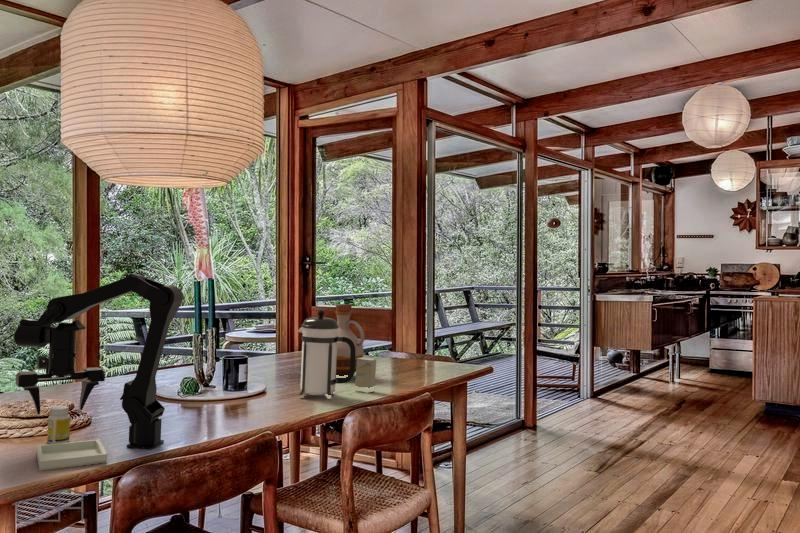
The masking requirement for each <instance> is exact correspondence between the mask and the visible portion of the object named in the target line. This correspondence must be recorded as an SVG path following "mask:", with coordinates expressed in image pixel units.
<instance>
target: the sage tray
mask: <svg viewBox="0 0 800 533" xmlns="http://www.w3.org/2000/svg"><path fill="white" fill-rule="evenodd" d="M35 456H36V460H37V466H38V471H39V472H43V471H51V470H58V469H68V467H69V468H76V466H77V467H83V465H86V466H92V465H91V464H94V465H99V464H98V463H103V464H108V463H107V462H108V457H107V456H108V453H107V452H106V450H105V447H104V445H103V443H102V442H101V439H99V438H98V439H88V440H79V441H68V442H66V443H57V444H49V443H47V444H38V445H36V451H35ZM66 467H67V468H66Z"/></svg>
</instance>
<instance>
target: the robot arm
mask: <svg viewBox="0 0 800 533" xmlns="http://www.w3.org/2000/svg"><path fill="white" fill-rule="evenodd" d="M132 293H135V294H137V296H140V297H141V298H142V299H144V300H146V301H149V316H150V322H149V326H148V330H147V334H146V337H145V340H144V341H145V342H144V345H143V349H142V353H141V357H140V358H139V359H140V360H139V364H138V367H137V371H136V375H135V377H134V379H132V380H128V381H127V382H125V383H124V385H123V391H122V394H121V397H120V398H119V400H120V401H121V408H122V409H123V411H124V412H125V413H126V414H127V417H128V418H127V419H128V421H129V424H130V425H129V426H128V427H129V428H128V444H126V447H127V448H135V449H145V450H146V449H147V450H148V449H149V450H152V449H154V448H156V447H157V446H160V445H161V444H163V443H164V442H165V439H161V438H162V422H163V421H162V418H160V417H163V414H164V412H165V406H164V405H162V404H161V402H160V401H158V399H157V383H156V377H157V372H158V368H159V365H160V361H161V358H162V354H163V351H164V347H165V343H166V340H167V334H168V332H169V327H170V325H171V322H172V320H173V319H174V317H175V316H176V314H177V313H178V311H179V309H180V307H181V305H182V303H183V300H184V294H183V291H182V290H181V288H179V287H178V286H176V285H171V284H169V285H166V284H164V283H162V282H161V283H160V282H158V281H156V280H153V279H150V278H147V277H145V276H144V275H142V274H130V275H127V276H126V277H124V278H121V279H118V280H115V281H113V282H110V283H108V284H107V283H106V284H103V285H102V286H99V287H96V288H93V289H90V290H88V291H86V292H82V293H75V294H68V295H64V296H63V295H62V296H57V297H54V298H51V299H50V300H49V301H48V304H47V305H46V310H44V312H42V314H41V315H40V317H39V318H38V319H31V318H21V319H20V320H19V323H20V324H18V326H17V327H16V330H15V333H14V334H13V340H14V343H15V345H16V346H17V347H20V348H21V347H22V348H24V347H25V348H44V347H46V346H47V345H48V344H49V346H48V347H49V348H48V356H47V355H38V356H37V361H36V368H37V370H39V371H41V370H42V371H43V370H45V373H40V374H39V373H37V372H36V370H29V371H18V372H17V373H16V374H15V385H16V386H17V387H18V388H22V390H24V391H28V392H29V394H30V396H31V399H32V401H33V404H34V409H35V411H36V413H37V415H40V414H41V399H40V398H41V397H40V387H39V386H38V383H43V382H44V383H45V382H57V381H58V382H59V381H71V380H81V390H80V396H79V404H78V406H79V408H78V409H79V411H83V409H84V406H85V404H86V402H87V400H88V398H89V396H90V394H91V393H92V391H93V389H94V388H95V386H99V385H100V383H99V382H105V381H106V377H105V376H106V373H105V371H104V369H102V368H101V367H98V366H96V367H95V366H94V367H83V371H75V370H76V368H75V367H76V346H77V345H76V344H77V340H76V339H77V331H82V330H85V329H86V326H85V325H84V324H83V323H81V321H80V320H79V319H76V318H77V317H80V316H81V315H83V314H85V313H86V312H88V311H89V310H90V309H91V308H93V307H95V306H98V305H100V304H103V303H107V302H109V301H112V300H114V299H118V298H120V297H123V296H126V295H128V294H132ZM75 319H76V320H75ZM68 320H73V321H72V322H64V321H68ZM52 324H53V325H52ZM54 324H57V325H54Z"/></svg>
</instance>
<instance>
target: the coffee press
mask: <svg viewBox="0 0 800 533" xmlns="http://www.w3.org/2000/svg"><path fill="white" fill-rule="evenodd" d="M324 314H325V312H324V310H323V309H320V310H318V312H317V315H318V316H312V317H307V318H306V319H304V321H303V323H302V324H301V327H300V328H299V329H298V330H297V333H301V334H302V335H301V341H302V342H301V366H300V393H299V394H298V396H299V395H302V396H303V395H304V394H309V395H311V396H324V395H325V394H328V395H332V394H331V393H333V392H334V391H336V384H347V383H350V382H351V380H352V379H353V378H354V376H355V373H356V372H355V345H354V343H353V341H352V340H351V339H349V338H347V337H338V336H337V333H338V328H339V325H338V324H337V319H334V318H331V317H324ZM337 341H340V342H346V343H347V344H348V345H349V346H350V373H349V375H348V377H346V378H336V357H337ZM354 372H355V373H354ZM309 395H308V396H309Z"/></svg>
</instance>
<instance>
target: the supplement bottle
mask: <svg viewBox="0 0 800 533" xmlns="http://www.w3.org/2000/svg"><path fill="white" fill-rule="evenodd" d="M49 414H50V415H49V416H48V417H47V434H46V435H47V439H46V441H47V444H57V443H67V442H70V431H71V430H70V429H71V416H70V414H69V406H68V405H56V406H51V407H50V408H49Z"/></svg>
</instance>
